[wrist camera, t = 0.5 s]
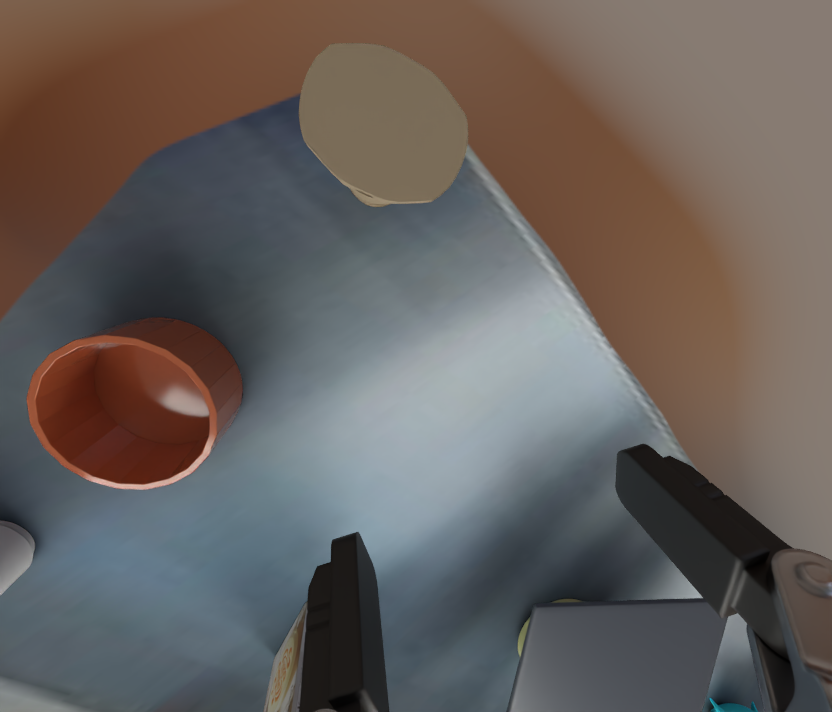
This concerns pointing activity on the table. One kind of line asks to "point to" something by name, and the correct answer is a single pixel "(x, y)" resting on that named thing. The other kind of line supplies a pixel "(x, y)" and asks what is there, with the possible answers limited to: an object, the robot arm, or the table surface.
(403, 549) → the table surface
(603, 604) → the graduation cap
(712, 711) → the toy shark
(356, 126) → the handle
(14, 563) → the energy drink can
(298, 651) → the coffee box
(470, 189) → the table surface
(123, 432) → the holder
